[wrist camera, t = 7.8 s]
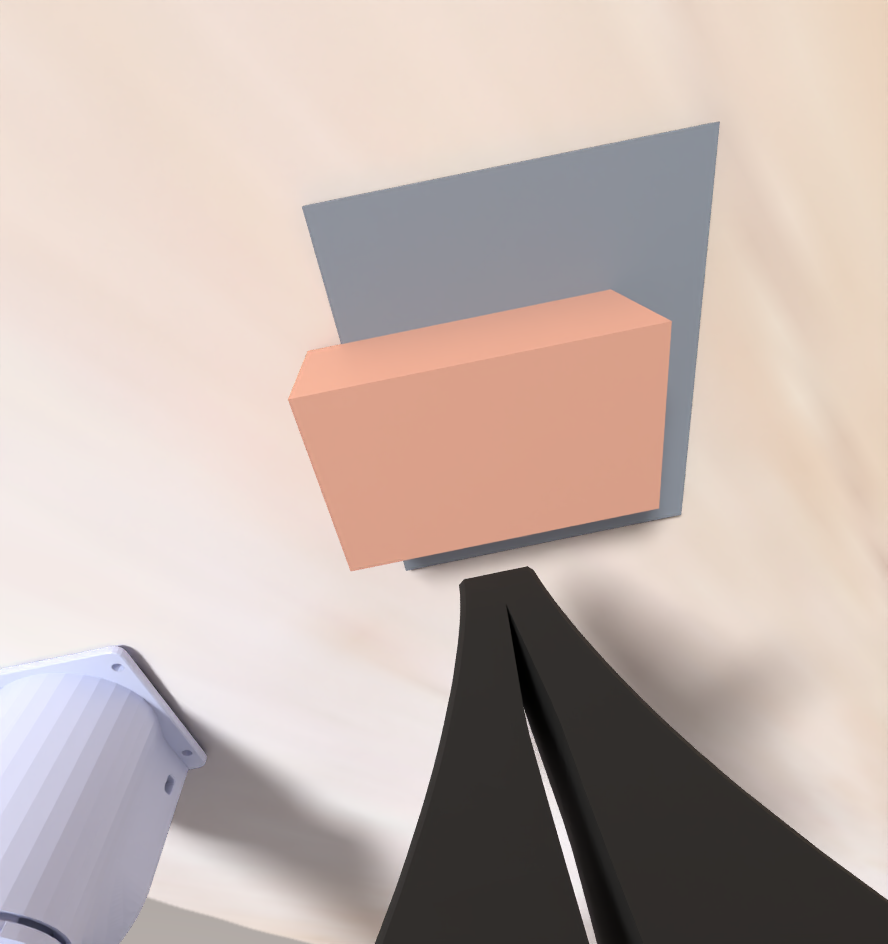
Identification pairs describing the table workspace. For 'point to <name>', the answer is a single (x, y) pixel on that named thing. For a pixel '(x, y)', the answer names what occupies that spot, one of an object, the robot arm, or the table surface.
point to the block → (487, 426)
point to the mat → (535, 262)
